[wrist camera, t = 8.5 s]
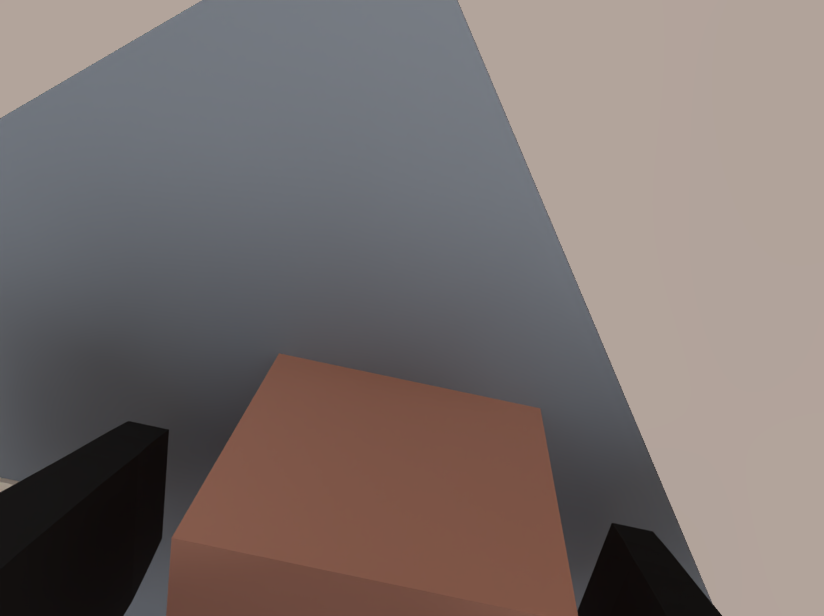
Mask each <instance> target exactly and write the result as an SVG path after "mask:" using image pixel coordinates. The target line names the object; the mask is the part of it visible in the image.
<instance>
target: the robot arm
mask: <svg viewBox="0 0 824 616" xmlns="http://www.w3.org/2000/svg"><path fill="white" fill-rule="evenodd" d="M168 438H169V429H164V428H160V427H155V426H150V425H145V424H141V423H136V422H131V421H127V422H125V423H123V424H122V425H120V426H118V427H116V428H114V429H112V430H110V431H109V432H107V433H105V434H103V435H102V436H100V437H98V438H96V439H95V440H93V441H91V442H89V443H88V444H86V445H84V446H82V447H81V448H79V449H77V450H75V451H74V452H72V453H70V454H68V455H67V456H65V457H63V458H61V459H59V460H58V461H56V462H54V463H52V464H51V465H49V466H47V467H45V468H43V469H41V470H40V471H38V472H36V473H34V474H32V475H31V476H29V477H27V478H25V479H23V480H21V481H20V482H18V483H16V484H14V485H12V486H11V487H9V488H7V489H5V490H3V491H1V492H0V616H124V614H125V613H126V611H127V609H128V608H129V606H130V604H131V603H132V601H133V599H134V597H135V595H136V593H137V591H138V589H139V586H140V584H141V582H142V580H143V578H144V576H145V574H146V572H147V570H148V568H149V566H150V564H151V561H152V559H153V557H154V555H155V553H156V551H157V548H158V546H159V544H160V542H161V540H162V534H163V518H164V502H165V486H166V470H167V454H168ZM577 612H578V616H722V615H721V614H720V613H719V611H718V610H717V609H716V608H715V606H714V605H713V604H712V603H711V602H710V600H709V599H708V598H707V597H706V595H705V594H704V593H703V592H702V590H701V589H700V588H699V587H698V585H697V584H696V583H695V582H694V580H693V579H692V578H691V577H690V575H689V574H688V573H687V572H686V570H685V569H684V568H683V567H682V565H681V564H680V563H679V562H678V561H677V559H676V558H675V557H674V556H673V554H672V553H671V552H670V551H669V549H668V548H667V547H666V546H665V545H664V544H663V542H662V541H661V540H660V539H659V538H658V537H657V535H656V534H655V533H654V532H653V531H649V530H644V529H639V528H635V527H630V526H625V525H620V524H616V523H611V526H610V529H609V531H608V534H607V536H606V539H605V541H604V544H603V547H602V549H601V552H600V554H599V557H598V559H597V562H596V564H595V567H594V570H593V572H592V575H591V577H590V580H589V582H588V585H587V587H586V590H585V593H584V595H583V598H582V600H581V603H580V605H579V608H578V610H577Z"/></svg>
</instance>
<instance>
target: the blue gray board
mask: <svg viewBox="0 0 824 616" xmlns="http://www.w3.org/2000/svg"><path fill="white" fill-rule="evenodd" d="M279 353H280V354H285V355H289V356H294V357H299V358H304V359H308V360H313V361H318V362H323V363H327V364H332V365H337V366H342V367H346V368H351V369H356V370H361V371H365V372H370V373H375V374H380V375H384V376H389V377H394V378H399V379H403V380H408V381H413V382H418V383H422V384H427V385H432V386H437V387H441V388H446V389H451V390H455V391H460V392H465V393H470V394H474V395H479V396H484V397H489V398H493V399H498V400H503V401H508V402H512V403H517V404H522V405H527V406H531V407H536V408H540V409H541V414H542V420H543V425H544V431H545V436H546V442H547V447H548V453H549V458H550V464H551V469H552V475H553V480H554V486H555V491H556V497H557V502H558V508H559V513H560V519H561V524H562V530H563V535H564V541H565V546H566V552H567V557H568V563H569V568H570V574H571V579H572V585H573V590H574V596H575V601H576V607H577V610H578V608H579V605H580V603H581V600H582V598H583V595H584V593H585V590H586V587H587V585H588V582H589V580H590V577H591V575H592V572H593V570H594V567H595V564H596V562H597V559H598V557H599V554H600V552H601V549H602V547H603V544H604V541H605V539H606V536H607V534H608V531H609V529H610V526H611V523H616V524H620V525H625V526H630V527H635V528H639V529H644V530H649V531H653V532H654V533H655V534H656V535H657V537H658V538H659V539H660V540H661V541H662V542H663V544H664V545H665V546H666V547H667V548H668V549H669V551H670V552H671V553H672V554H673V556H674V557H675V558H676V559H677V561H678V562H679V563H680V564H681V565H682V567H683V568H684V569H685V570H686V572H687V573H688V574H689V575H690V577H691V578H692V579H693V580H694V582H695V583H696V584H697V585H698V587H699V588H700V589H701V590H702V592H703V593H704V594H705V595H706V597H707V598H708V599H709V600H710V602H711V599H710V597H709V595H708V592H707V590H706V587H705V585H704V583H703V580H702V578H701V576H700V573H699V571H698V568H697V566H696V564H695V561H694V559H693V557H692V554H691V552H690V550H689V547H688V545H687V542H686V540H685V538H684V535H683V533H682V531H681V528H680V526H679V524H678V521H677V519H676V516H675V514H674V512H673V509H672V507H671V505H670V502H669V500H668V498H667V495H666V493H665V490H664V488H663V486H662V483H661V481H660V479H659V476H658V474H657V471H656V469H655V467H654V464H653V462H652V460H651V457H650V455H649V452H648V450H647V448H646V445H645V443H644V441H643V438H642V436H641V434H640V431H639V429H638V427H637V424H636V422H635V420H634V417H633V415H632V412H631V410H630V408H629V405H628V403H627V401H626V398H625V396H624V393H623V391H622V389H621V386H620V384H619V381H618V379H617V377H616V374H615V372H614V370H613V367H612V365H611V363H610V360H609V358H608V355H607V353H606V351H605V348H604V346H603V344H602V342H601V339H600V337H599V334H598V332H597V329H596V327H595V325H594V322H593V320H592V318H591V315H590V313H589V310H588V308H587V306H586V303H585V301H584V299H583V296H582V294H581V292H580V289H579V287H578V284H577V282H576V280H575V277H574V275H573V273H572V270H571V268H570V266H569V263H568V261H567V258H566V256H565V254H564V251H563V249H562V247H561V244H560V242H559V240H558V237H557V235H556V232H555V230H554V228H553V225H552V223H551V221H550V218H549V216H548V214H547V211H546V209H545V207H544V204H543V202H542V199H541V197H540V195H539V192H538V190H537V187H536V185H535V183H534V180H533V178H532V176H531V173H530V171H529V169H528V166H527V164H526V162H525V159H524V157H523V154H522V152H521V150H520V147H519V145H518V142H517V140H516V138H515V136H514V133H513V131H512V128H511V126H510V124H509V121H508V119H507V116H506V114H505V112H504V109H503V107H502V105H501V102H500V100H499V98H498V96H497V93H496V90H495V88H494V86H493V83H492V81H491V79H490V76H489V74H488V71H487V69H486V67H485V65H484V62H483V60H482V57H481V55H480V53H479V50H478V48H477V46H476V43H475V41H474V39H473V36H472V34H471V31H470V29H469V27H468V24H467V22H466V20H465V17H464V15H463V12H462V10H461V8H460V5H459V3H458V1H457V0H202V1H200V2H199V3H197V4H195V5H194V6H192V7H190V8H188V9H187V10H185V11H183V12H181V13H180V14H178V15H176V16H175V17H173V18H171V19H170V20H168V21H166V22H164V23H163V24H161V25H159V26H157V27H156V28H154V29H152V30H151V31H149V32H147V33H145V34H144V35H142V36H140V37H139V38H137V39H135V40H134V41H132V42H130V43H128V44H127V45H125V46H123V47H122V48H120V49H118V50H116V51H115V52H114V53H111V54H110V55H108V56H106V57H104V58H103V59H101V60H99V61H98V62H96V63H94V64H92V65H91V66H89V67H87V68H86V69H84V70H82V71H80V72H79V73H77V74H75V75H74V76H72V77H70V78H68V79H67V80H65V81H64V82H62V83H60V84H58V85H57V86H55V87H53V88H51V89H50V90H48V91H46V92H45V93H43V94H41V95H39V96H38V97H36V98H34V99H33V100H31V101H29V102H27V103H26V104H24V105H22V106H21V107H19V108H17V109H16V110H14V111H12V112H11V113H9V114H7V115H5V116H4V117H2V118H0V492H1V491H3V490H5V489H7V488H9V487H11V486H12V485H14V484H16V483H18V482H20V481H21V480H23V479H25V478H27V477H29V476H31V475H32V474H34V473H36V472H38V471H40V470H41V469H43V468H45V467H47V466H49V465H51V464H52V463H54V462H56V461H58V460H59V459H61V458H63V457H65V456H67V455H68V454H70V453H72V452H74V451H75V450H77V449H79V448H81V447H82V446H84V445H86V444H88V443H89V442H91V441H93V440H95V439H96V438H98V437H100V436H102V435H103V434H105V433H107V432H109V431H110V430H112V429H114V428H116V427H118V426H120V425H122V424H123V423H125V422H127V421H131V422H136V423H141V424H145V425H150V426H155V427H160V428H164V429H169V438H168V454H167V470H166V486H165V502H164V518H163V534H162V540H161V542H160V544H159V546H158V548H157V551H156V553H155V555H154V557H153V559H152V561H151V564H150V566H149V568H148V570H147V572H146V574H145V576H144V578H143V580H142V582H141V584H140V586H139V589H138V591H137V593H136V595H135V597H134V599H133V601H132V603H131V604H130V606H129V608H128V609H127V611H126V613H125V614H124V616H166V610H167V596H168V581H169V567H170V553H171V538H172V536H173V534H174V533H175V531H176V529H177V528H178V526H179V524H180V522H181V521H182V519H183V517H184V516H185V514H186V512H187V510H188V509H189V507H190V505H191V504H192V502H193V500H194V498H195V497H196V495H197V493H198V492H199V490H200V488H201V486H202V485H203V483H204V481H205V480H206V478H207V476H208V474H209V473H210V471H211V469H212V468H213V466H214V464H215V462H216V461H217V459H218V457H219V456H220V454H221V452H222V450H223V449H224V447H225V445H226V443H227V442H228V440H229V438H230V437H231V435H232V433H233V431H234V430H235V428H236V426H237V425H238V423H239V421H240V419H241V418H242V416H243V414H244V413H245V411H246V409H247V407H248V406H249V404H250V402H251V401H252V399H253V397H254V395H255V394H256V392H257V390H258V389H259V387H260V385H261V383H262V382H263V380H264V378H265V377H266V375H267V373H268V371H269V370H270V368H271V366H272V365H273V363H274V361H275V359H276V358H277V356H278V354H279ZM711 603H712V602H711Z"/></svg>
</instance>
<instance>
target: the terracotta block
mask: <svg viewBox="0 0 824 616" xmlns="http://www.w3.org/2000/svg"><path fill="white" fill-rule="evenodd" d="M166 616H578V612H577V607H576V601H575V596H574V590H573V585H572V579H571V574H570V568H569V563H568V557H567V552H566V546H565V541H564V535H563V530H562V524H561V519H560V513H559V508H558V502H557V497H556V491H555V486H554V480H553V475H552V469H551V464H550V458H549V453H548V447H547V442H546V436H545V431H544V425H543V420H542V414H541V409H540V408H536V407H531V406H527V405H522V404H517V403H512V402H508V401H503V400H498V399H493V398H489V397H484V396H479V395H474V394H470V393H465V392H460V391H455V390H451V389H446V388H441V387H437V386H432V385H427V384H422V383H418V382H413V381H408V380H403V379H399V378H394V377H389V376H384V375H380V374H375V373H370V372H365V371H361V370H356V369H351V368H346V367H342V366H337V365H332V364H327V363H323V362H318V361H313V360H308V359H304V358H299V357H294V356H289V355H285V354H280V353H279V354H278V356H277V358H276V359H275V361H274V363H273V365H272V366H271V368H270V370H269V371H268V373H267V375H266V377H265V378H264V380H263V382H262V383H261V385H260V387H259V389H258V390H257V392H256V394H255V395H254V397H253V399H252V401H251V402H250V404H249V406H248V407H247V409H246V411H245V413H244V414H243V416H242V418H241V419H240V421H239V423H238V425H237V426H236V428H235V430H234V431H233V433H232V435H231V437H230V438H229V440H228V442H227V443H226V445H225V447H224V449H223V450H222V452H221V454H220V456H219V457H218V459H217V461H216V462H215V464H214V466H213V468H212V469H211V471H210V473H209V474H208V476H207V478H206V480H205V481H204V483H203V485H202V486H201V488H200V490H199V492H198V493H197V495H196V497H195V498H194V500H193V502H192V504H191V505H190V507H189V509H188V510H187V512H186V514H185V516H184V517H183V519H182V521H181V522H180V524H179V526H178V528H177V529H176V531H175V533H174V534H173V536H172V538H171V553H170V567H169V581H168V596H167V610H166Z"/></svg>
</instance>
